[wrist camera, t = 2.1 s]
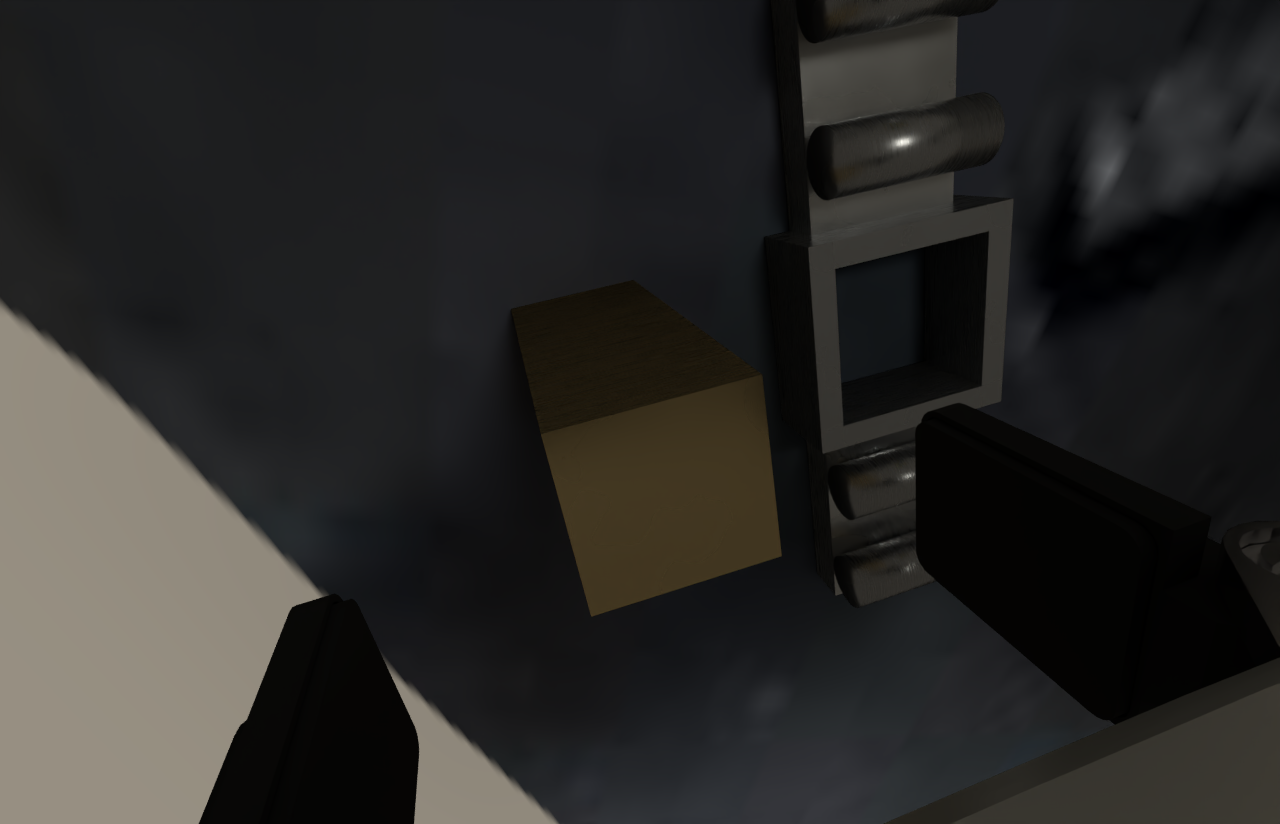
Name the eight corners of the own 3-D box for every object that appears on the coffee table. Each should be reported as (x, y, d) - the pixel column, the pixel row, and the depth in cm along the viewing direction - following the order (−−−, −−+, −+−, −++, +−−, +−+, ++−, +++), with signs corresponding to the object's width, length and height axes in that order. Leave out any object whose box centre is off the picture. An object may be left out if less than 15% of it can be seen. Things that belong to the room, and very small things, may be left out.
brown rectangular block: (633, 279, 20) (762, 374, 11) (654, 392, 22) (781, 555, 13) (511, 308, 19) (540, 434, 10) (542, 422, 21) (591, 616, 12)
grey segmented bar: (950, -72, 18) (1049, -121, 15) (939, 533, 27) (999, 582, 24) (737, -38, 17) (795, -83, 14) (797, 579, 26) (841, 636, 23)
